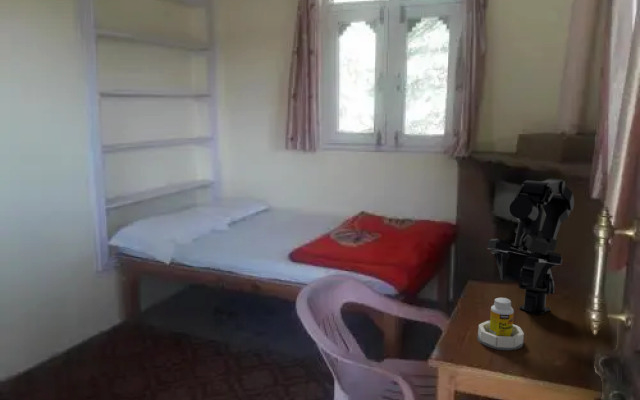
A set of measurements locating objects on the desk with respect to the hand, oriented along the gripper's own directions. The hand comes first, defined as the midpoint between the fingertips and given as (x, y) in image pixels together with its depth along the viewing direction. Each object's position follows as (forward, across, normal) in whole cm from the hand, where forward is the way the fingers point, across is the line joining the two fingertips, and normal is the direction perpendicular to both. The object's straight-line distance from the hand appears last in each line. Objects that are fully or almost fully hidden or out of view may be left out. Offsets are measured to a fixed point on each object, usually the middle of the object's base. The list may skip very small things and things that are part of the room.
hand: (518, 283), depth 141 cm
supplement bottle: (+15, -3, -2) cm, 15 cm away
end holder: (+16, -3, -2) cm, 16 cm away
